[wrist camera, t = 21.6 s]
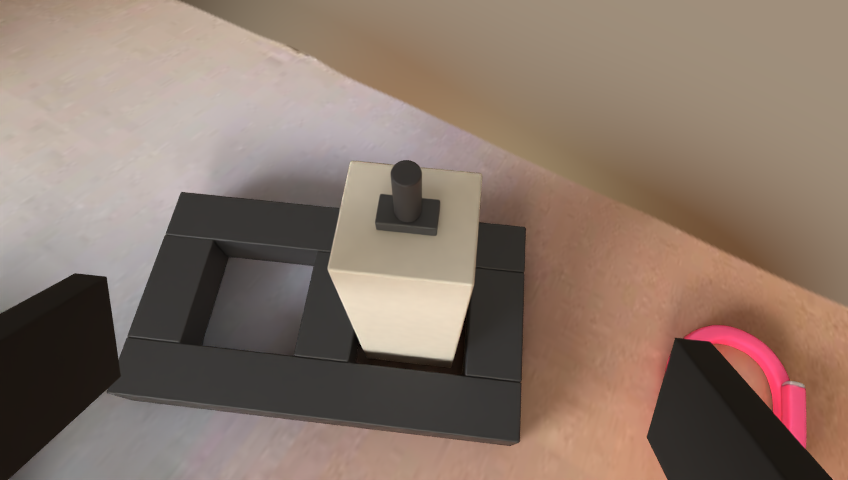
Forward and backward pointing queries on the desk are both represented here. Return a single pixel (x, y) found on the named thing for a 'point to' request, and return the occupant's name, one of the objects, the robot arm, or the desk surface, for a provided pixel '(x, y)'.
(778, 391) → the fitness band
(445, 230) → the white tall block
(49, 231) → the desk surface
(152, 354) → the black frame base
